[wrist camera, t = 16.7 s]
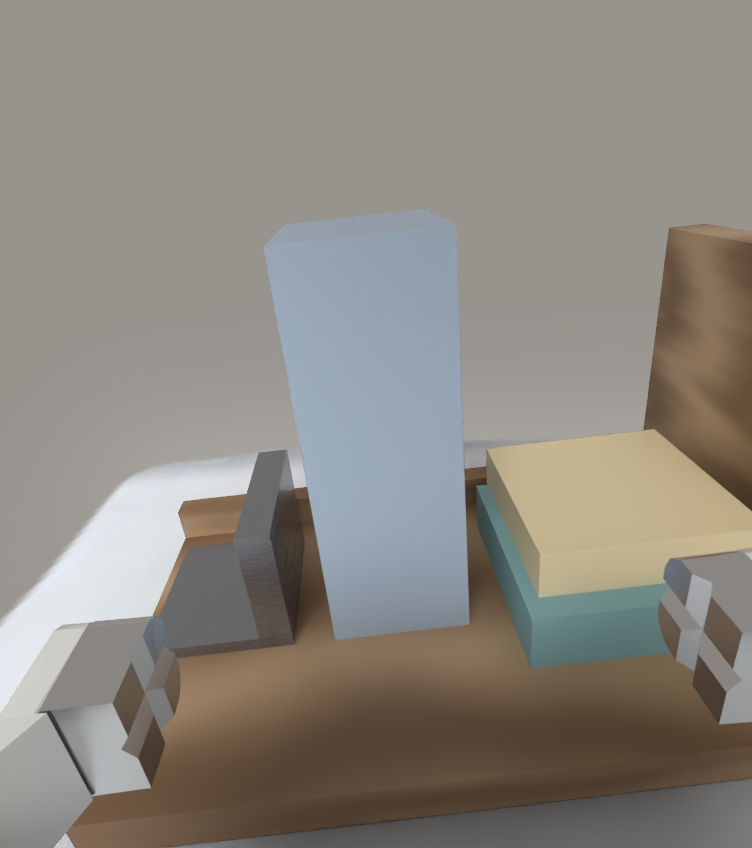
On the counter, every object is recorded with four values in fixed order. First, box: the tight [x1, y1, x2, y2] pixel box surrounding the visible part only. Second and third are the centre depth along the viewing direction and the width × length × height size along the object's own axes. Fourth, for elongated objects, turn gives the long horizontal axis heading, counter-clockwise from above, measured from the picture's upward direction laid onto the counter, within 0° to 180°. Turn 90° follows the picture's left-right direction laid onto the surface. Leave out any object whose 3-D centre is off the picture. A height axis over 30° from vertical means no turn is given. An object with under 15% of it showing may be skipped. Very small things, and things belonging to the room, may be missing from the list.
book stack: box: [476, 429, 752, 669], centre depth 21 cm, size 8×8×4 cm
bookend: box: [159, 450, 305, 658], centre depth 22 cm, size 6×5×5 cm
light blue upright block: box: [264, 209, 470, 640], centre depth 20 cm, size 5×6×14 cm
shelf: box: [66, 224, 752, 848], centre depth 19 cm, size 14×24×14 cm, turn 93°
